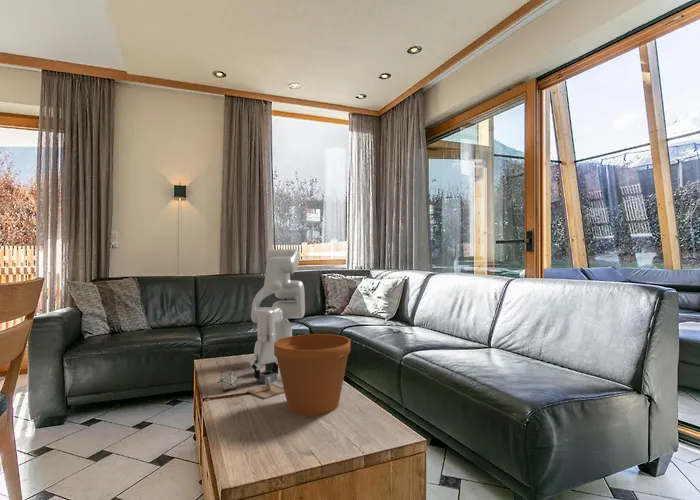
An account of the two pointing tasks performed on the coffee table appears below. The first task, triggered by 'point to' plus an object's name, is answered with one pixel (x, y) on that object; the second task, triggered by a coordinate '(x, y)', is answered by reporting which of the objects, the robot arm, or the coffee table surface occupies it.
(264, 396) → the tan piece
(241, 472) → the coffee table surface
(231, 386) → the game die
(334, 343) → the flowerpot
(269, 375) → the link
